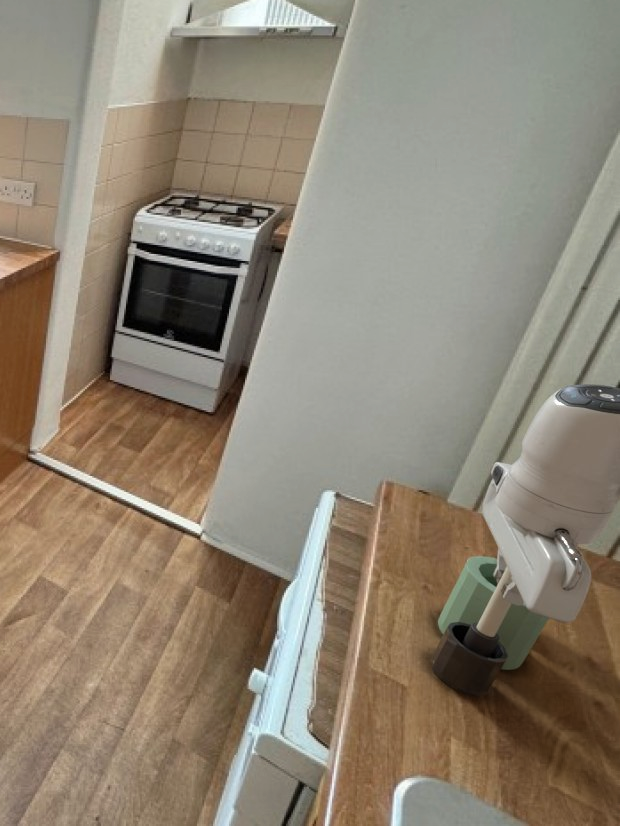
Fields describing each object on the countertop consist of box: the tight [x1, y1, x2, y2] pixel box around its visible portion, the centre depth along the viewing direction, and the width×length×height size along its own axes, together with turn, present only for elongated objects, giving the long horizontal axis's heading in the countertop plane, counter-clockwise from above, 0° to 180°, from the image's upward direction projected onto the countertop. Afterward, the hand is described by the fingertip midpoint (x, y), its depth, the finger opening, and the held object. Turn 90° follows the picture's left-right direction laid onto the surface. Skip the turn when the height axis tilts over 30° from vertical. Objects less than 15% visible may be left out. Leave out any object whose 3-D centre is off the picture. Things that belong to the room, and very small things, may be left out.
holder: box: [430, 622, 508, 698], centre depth 83 cm, size 6×6×7 cm
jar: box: [437, 555, 550, 671], centre depth 88 cm, size 9×9×12 cm
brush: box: [462, 567, 513, 658], centre depth 80 cm, size 3×3×17 cm
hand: (506, 590), depth 78 cm, fingers closed on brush, 2 cm apart
